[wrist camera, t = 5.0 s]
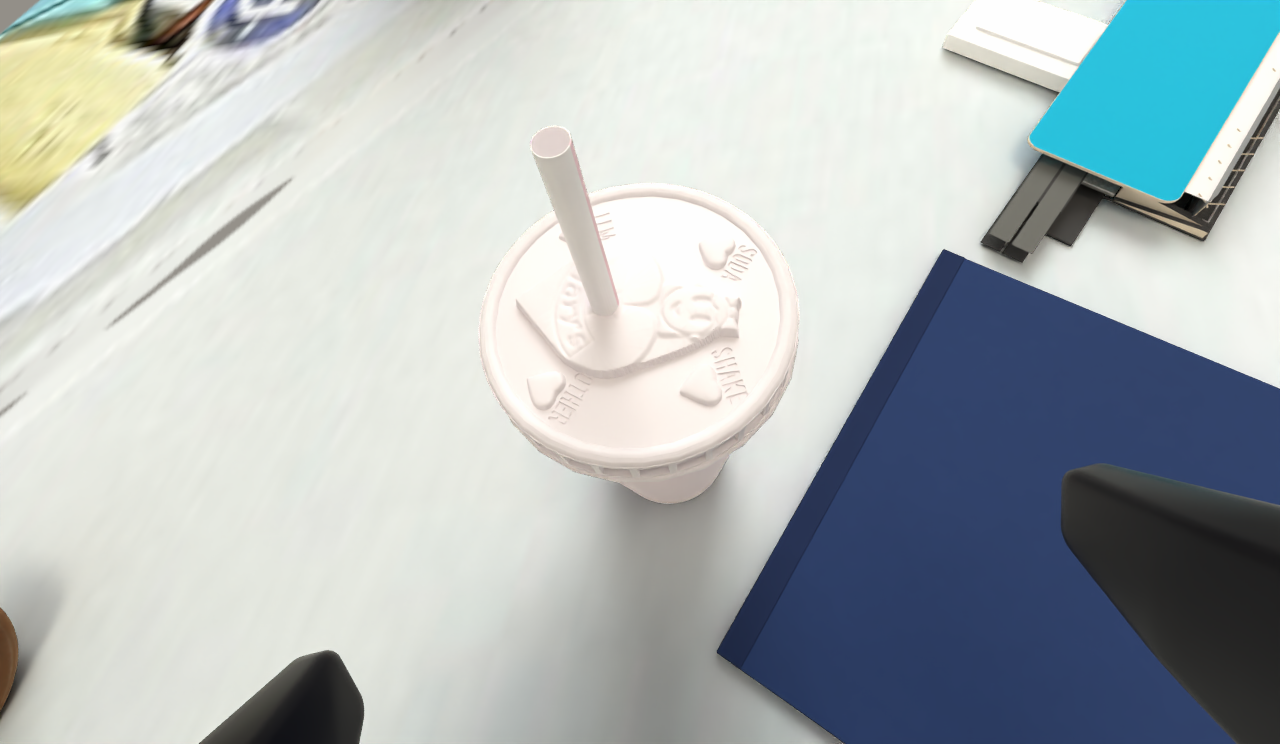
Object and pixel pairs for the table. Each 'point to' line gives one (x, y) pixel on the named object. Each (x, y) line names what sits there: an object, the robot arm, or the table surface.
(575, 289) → the smoothie
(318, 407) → the table surface
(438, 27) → the table surface
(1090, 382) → the cloth
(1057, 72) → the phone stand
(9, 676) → the tin
